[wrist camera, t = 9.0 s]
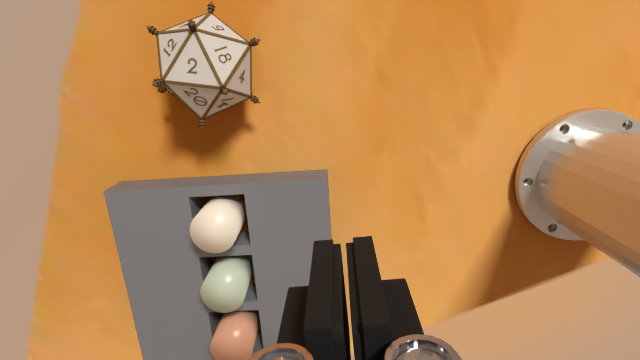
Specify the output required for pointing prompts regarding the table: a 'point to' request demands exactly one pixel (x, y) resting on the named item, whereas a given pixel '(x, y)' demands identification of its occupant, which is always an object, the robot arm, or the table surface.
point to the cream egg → (218, 223)
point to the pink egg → (235, 335)
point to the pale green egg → (227, 283)
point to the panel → (194, 264)
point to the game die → (205, 64)
